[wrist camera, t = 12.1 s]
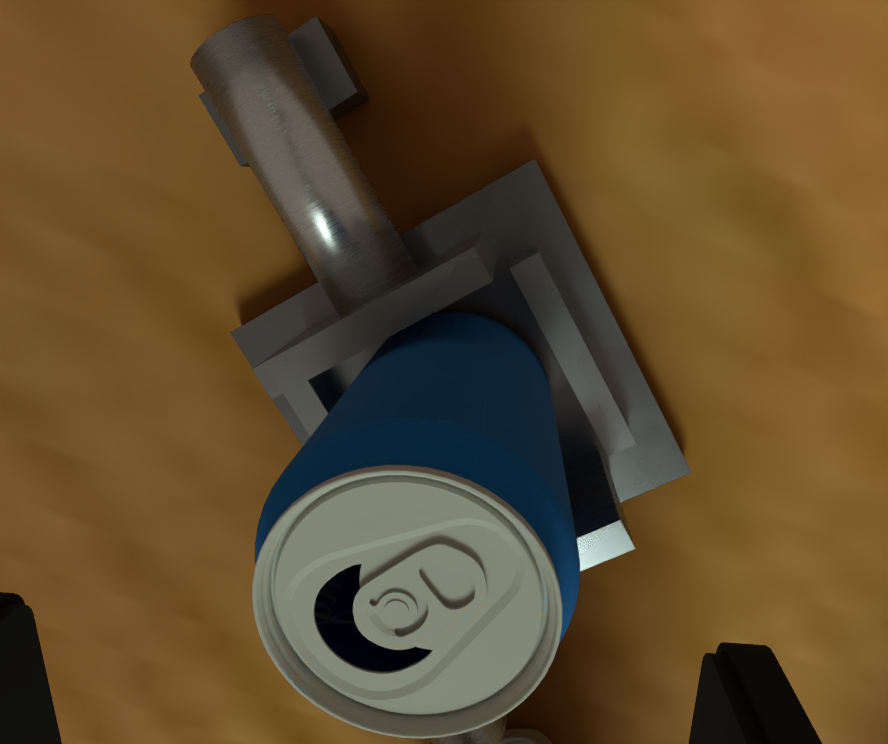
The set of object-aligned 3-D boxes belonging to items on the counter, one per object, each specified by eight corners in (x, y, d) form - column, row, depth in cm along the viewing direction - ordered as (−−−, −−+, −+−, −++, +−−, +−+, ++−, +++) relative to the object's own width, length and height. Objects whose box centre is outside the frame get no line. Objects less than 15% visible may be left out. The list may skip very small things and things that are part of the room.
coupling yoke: (72, 199, 24) (-69, 206, 18) (432, -44, 20) (401, -130, 15) (407, 706, 29) (381, 840, 23) (743, 577, 25) (810, 695, 19)
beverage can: (330, 375, 23) (157, 565, 12) (478, 269, 22) (442, 371, 10) (438, 512, 25) (373, 805, 13) (586, 420, 23) (659, 662, 12)
